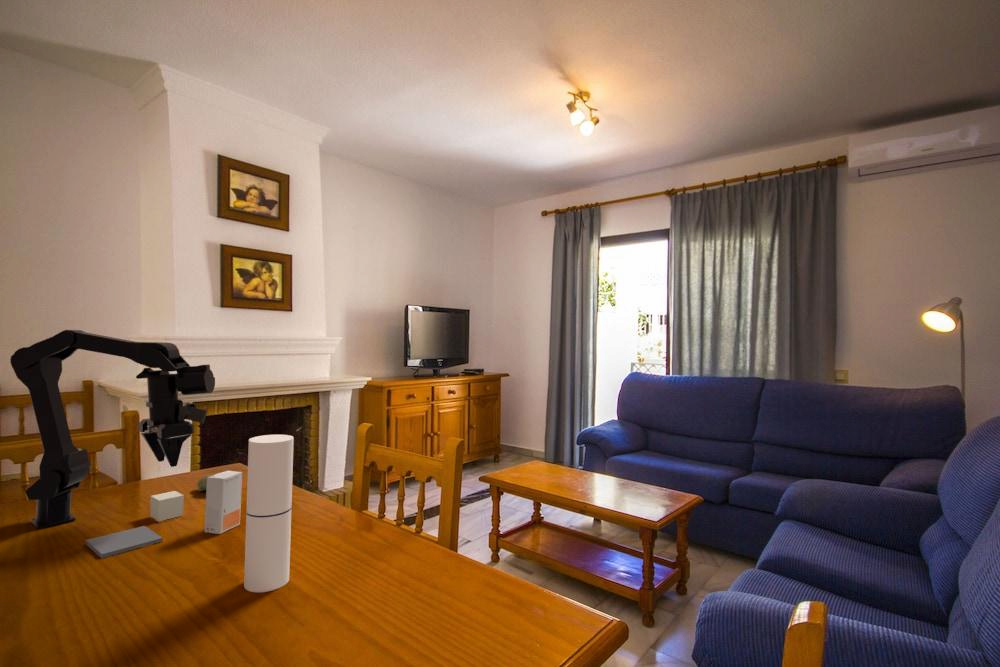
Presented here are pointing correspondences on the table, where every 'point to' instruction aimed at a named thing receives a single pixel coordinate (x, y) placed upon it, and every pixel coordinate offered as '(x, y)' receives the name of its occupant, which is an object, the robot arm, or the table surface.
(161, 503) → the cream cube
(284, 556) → the cylindrical container
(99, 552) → the mat
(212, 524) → the skincare box
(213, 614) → the table surface
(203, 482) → the pear
